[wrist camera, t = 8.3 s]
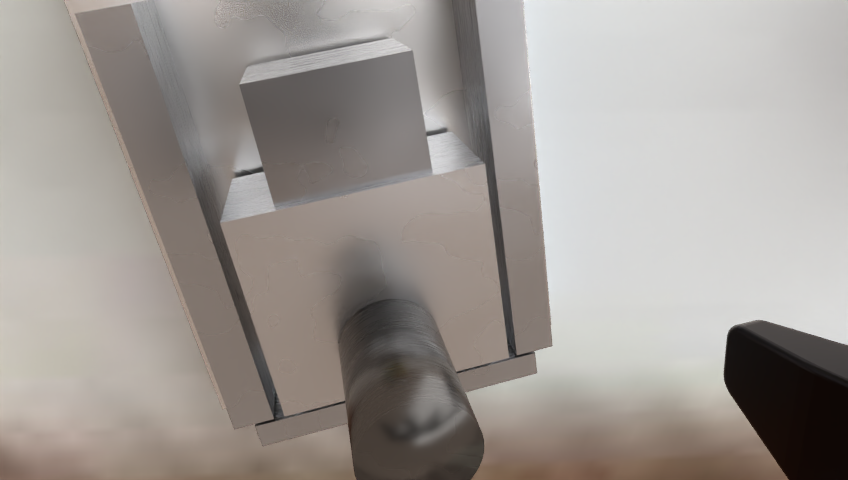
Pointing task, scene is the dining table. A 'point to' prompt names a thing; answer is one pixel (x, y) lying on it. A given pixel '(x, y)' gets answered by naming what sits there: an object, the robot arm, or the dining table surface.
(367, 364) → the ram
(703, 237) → the dining table surface
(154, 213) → the press base
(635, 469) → the dining table surface
